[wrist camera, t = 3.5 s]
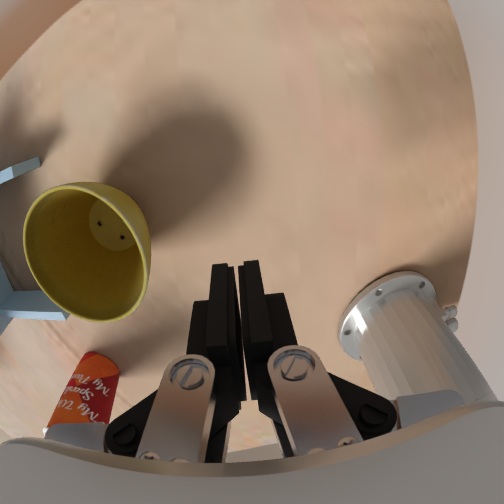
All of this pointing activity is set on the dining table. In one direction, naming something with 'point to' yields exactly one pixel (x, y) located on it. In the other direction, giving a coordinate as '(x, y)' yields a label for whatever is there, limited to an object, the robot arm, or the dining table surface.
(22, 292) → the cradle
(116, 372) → the paper cup
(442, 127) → the dining table surface
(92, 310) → the flower pot
